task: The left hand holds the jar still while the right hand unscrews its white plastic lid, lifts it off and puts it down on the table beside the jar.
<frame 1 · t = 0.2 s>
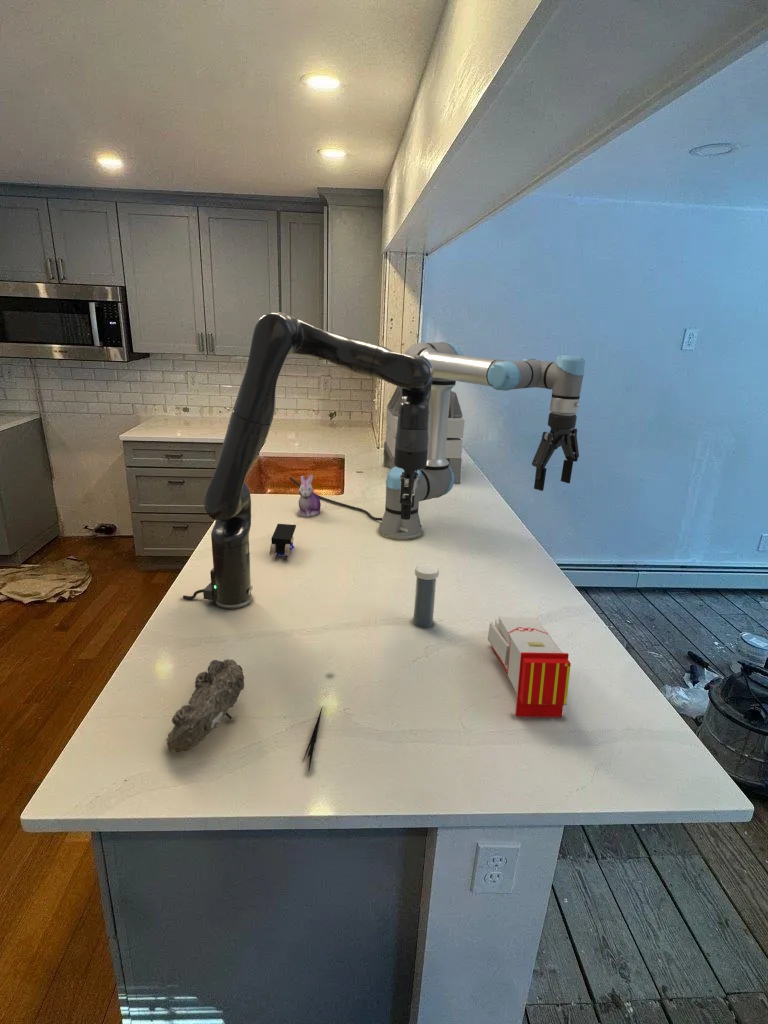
left hand: (407, 512, 135), 29 cm above the counter, tool pointing down, fingers open, 8 cm apart
right hand: (552, 485, 166), 28 cm above the counter, tool pointing down, fingers open, 13 cm apart
figurine: (309, 513, 215), on the counter
fossil: (212, 717, 108), on the counter
feather: (319, 719, 109), on the counter
lid: (426, 569, 139), point 15 cm above the counter, screwed on, not yet turned
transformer: (419, 473, 275), on the counter
toy: (520, 675, 125), on the counter
jar: (422, 622, 144), on the counter
figurine character: (283, 553, 180), on the counter
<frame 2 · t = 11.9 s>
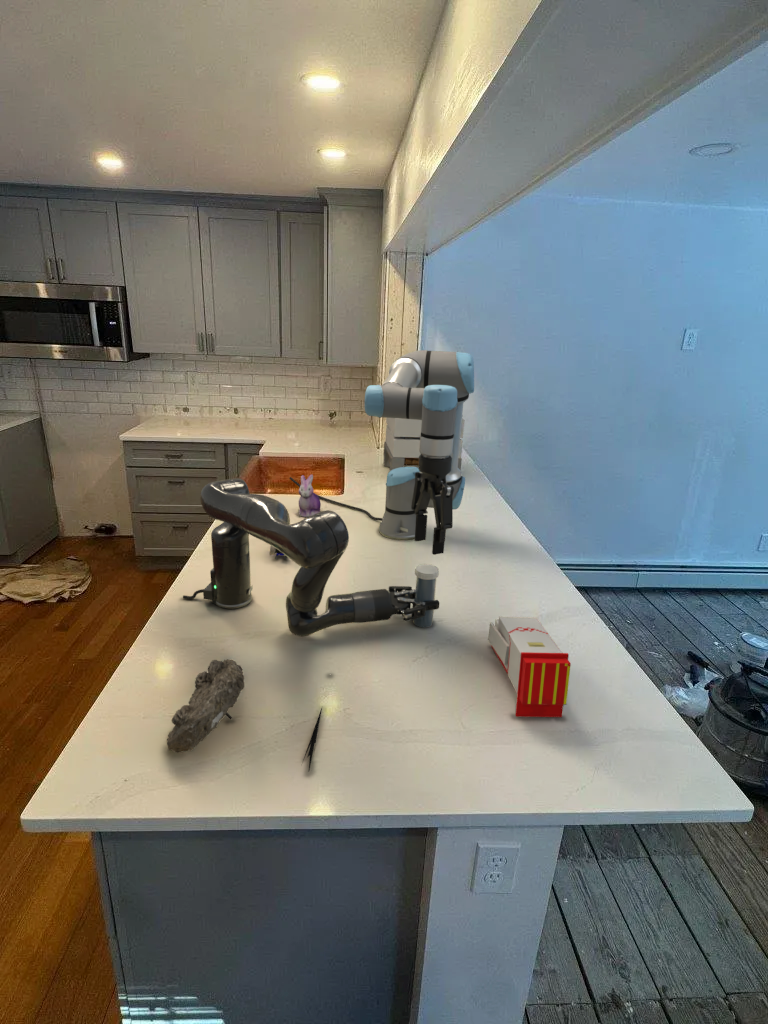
left hand: (434, 599, 143), 6 cm above the counter, tool horizontal, fingers closed on jar, 5 cm apart
right hand: (428, 546, 137), 21 cm above the counter, tool pointing down, fingers open, 8 cm apart
jar: (422, 622, 144), on the counter, touching left hand
everything else where it was.
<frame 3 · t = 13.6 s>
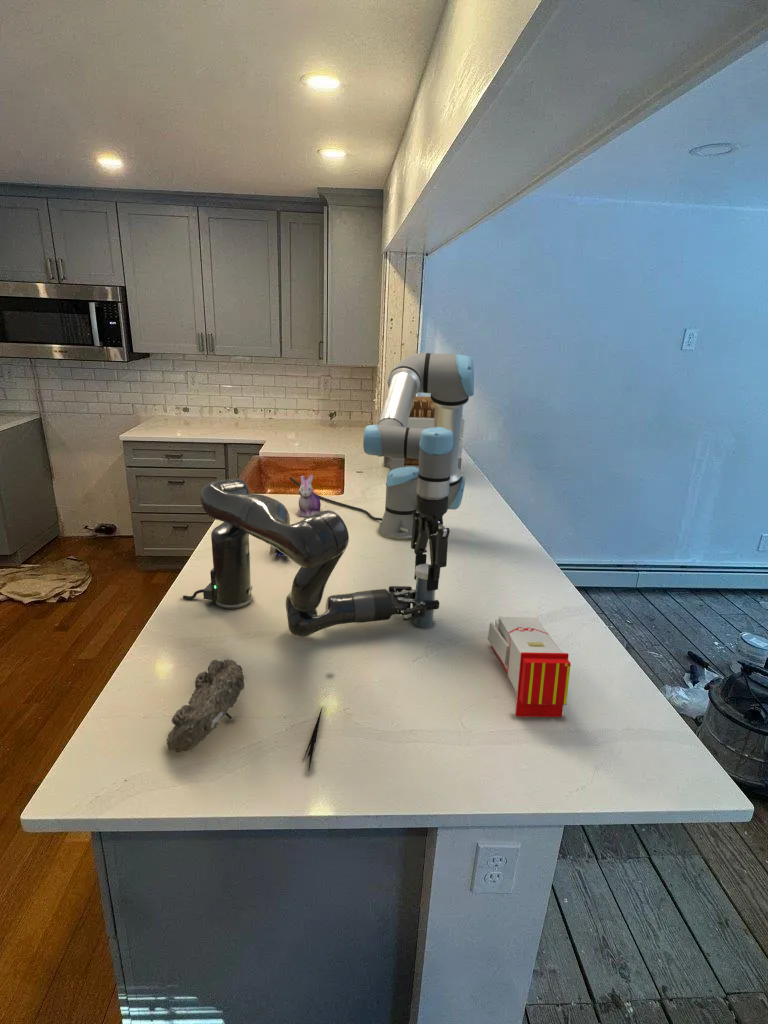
left hand: (434, 599, 143), 6 cm above the counter, tool horizontal, fingers closed on jar, 5 cm apart
right hand: (425, 583, 140), 11 cm above the counter, tool pointing down, fingers closed on lid, 6 cm apart
lid: (426, 569, 139), point 15 cm above the counter, screwed on, not yet turned, touching right hand
jar: (422, 622, 144), on the counter, touching left hand
everything else where it was.
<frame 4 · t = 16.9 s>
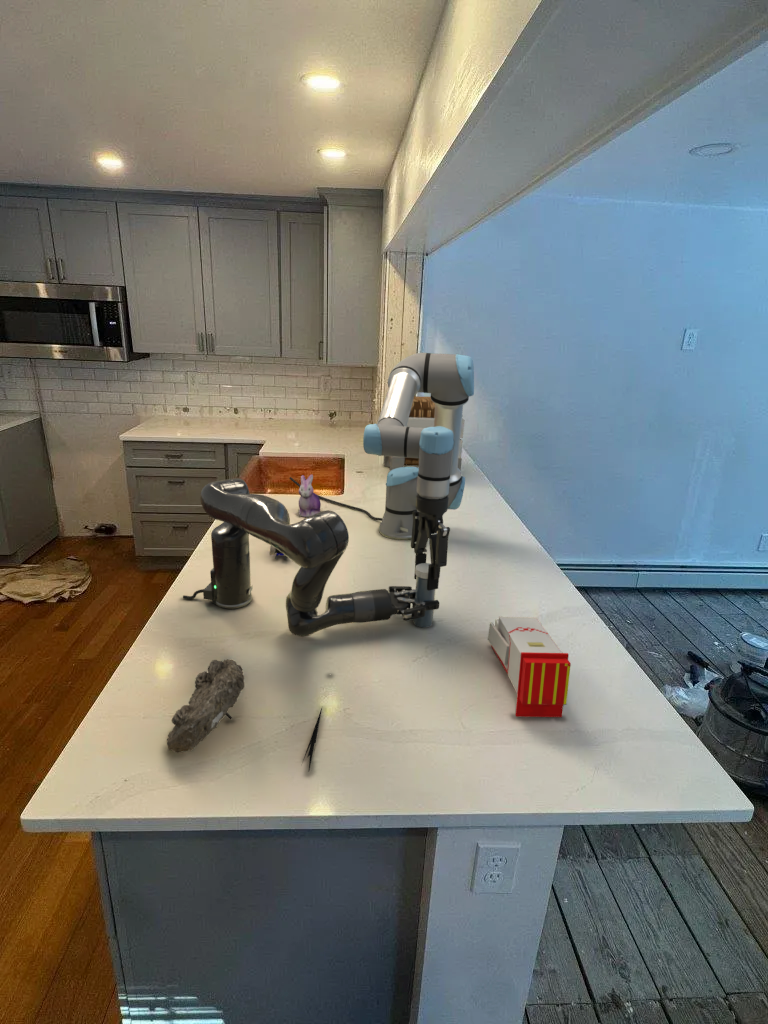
left hand: (434, 599, 143), 6 cm above the counter, tool horizontal, fingers closed on jar, 5 cm apart
right hand: (425, 583, 140), 11 cm above the counter, tool pointing down, fingers closed on lid, 6 cm apart
lid: (427, 569, 139), point 15 cm above the counter, turned 114° so far, risen 0.2 cm, still on its thread, touching right hand
jar: (422, 622, 144), on the counter, touching left hand
everything else where it was.
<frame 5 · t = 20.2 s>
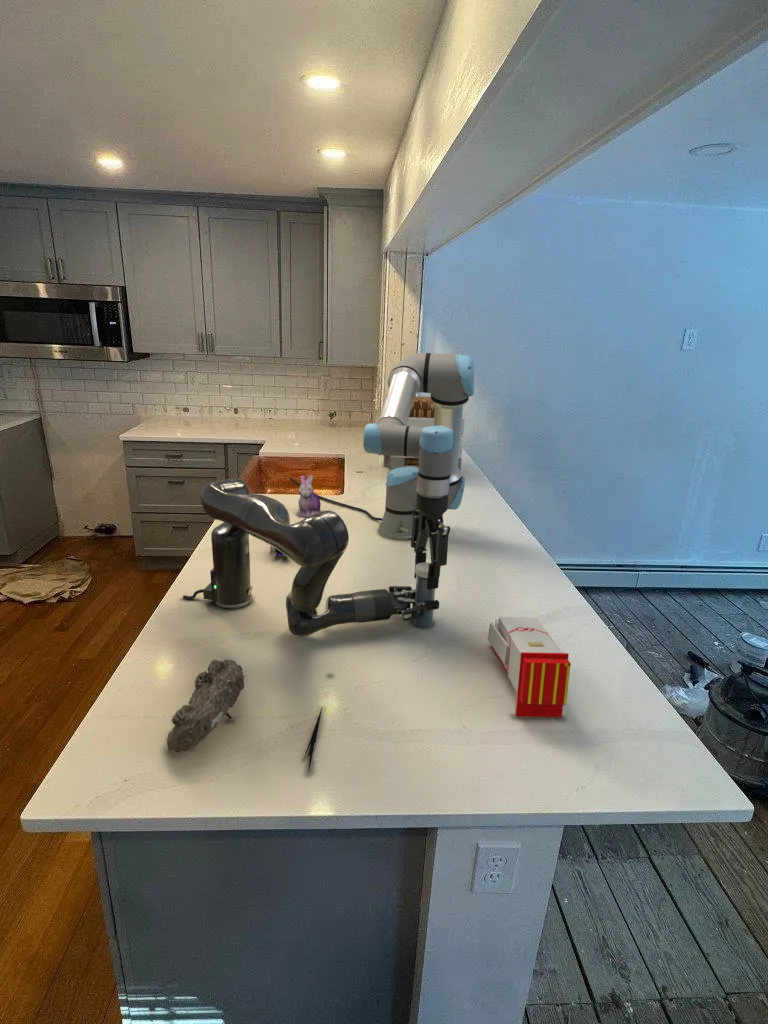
left hand: (434, 599, 143), 6 cm above the counter, tool horizontal, fingers closed on jar, 5 cm apart
right hand: (425, 582, 140), 11 cm above the counter, tool pointing down, fingers closed on lid, 6 cm apart
lid: (427, 568, 139), point 15 cm above the counter, turned 228° so far, risen 0.4 cm, still on its thread, touching right hand
jar: (422, 622, 144), on the counter, touching left hand
everything else where it was.
when the right hand's fingers open (0 cm above the counter, at t = 30.5 s): lid drops 3 cm, point 1 cm above the counter.
when the left hand's fingers open (6 cm above the counter, at t = 31.6 s): jar stays where it is, on the counter.
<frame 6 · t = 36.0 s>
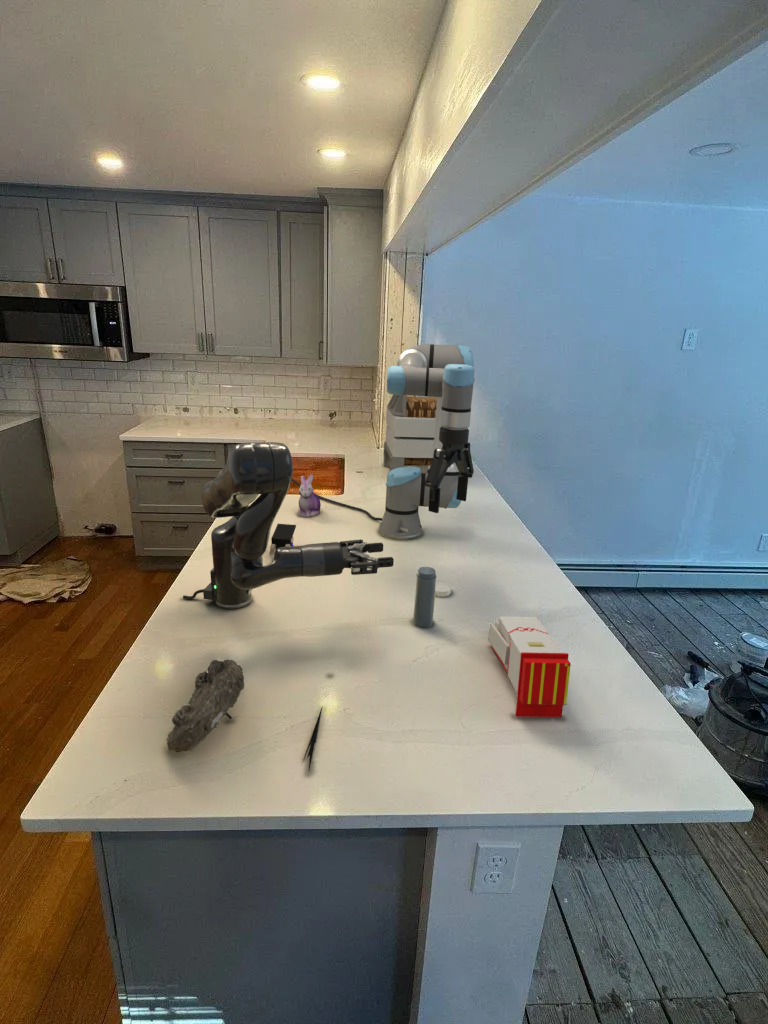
left hand: (387, 554, 134), 20 cm above the counter, tool horizontal, fingers open, 8 cm apart
right hand: (447, 505, 152), 26 cm above the counter, tool pointing down, fingers open, 13 cm apart
lid: (440, 587, 160), point 1 cm above the counter, off its thread
jar: (422, 622, 144), on the counter
everything else where it was.
at the end: lid came off its thread; lid point 1.2 cm above the counter; the left hand is holding nothing; the right hand is holding nothing; jar tilted 0°; jar moved 0.0 cm from its start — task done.
